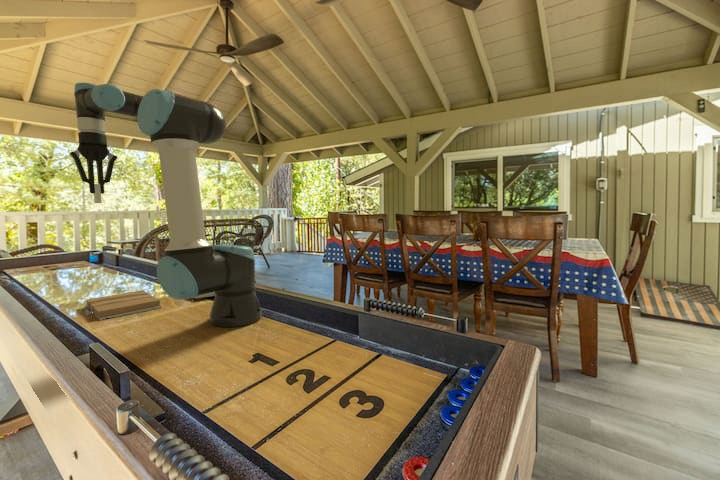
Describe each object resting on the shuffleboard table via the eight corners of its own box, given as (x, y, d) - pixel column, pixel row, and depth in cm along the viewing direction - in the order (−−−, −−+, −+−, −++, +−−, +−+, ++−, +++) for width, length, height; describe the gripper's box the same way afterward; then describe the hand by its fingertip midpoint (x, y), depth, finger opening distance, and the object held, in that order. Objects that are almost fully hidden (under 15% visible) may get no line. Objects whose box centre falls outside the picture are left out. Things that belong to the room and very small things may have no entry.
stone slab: (194, 279, 151) (221, 289, 129) (195, 286, 151) (222, 298, 129) (169, 283, 144) (193, 295, 122) (169, 291, 144) (193, 303, 122)
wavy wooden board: (153, 301, 121) (152, 296, 121) (93, 312, 109) (93, 306, 109) (143, 295, 129) (143, 290, 128) (86, 304, 116) (86, 299, 116)
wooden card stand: (161, 308, 116) (160, 300, 116) (99, 320, 103) (99, 312, 103) (142, 296, 130) (141, 289, 130) (86, 306, 117) (85, 299, 117)
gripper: (112, 137, 122) (117, 203, 124) (65, 131, 112) (71, 203, 115) (118, 134, 117) (123, 203, 119) (69, 128, 107) (75, 203, 110)
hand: (98, 203), depth 117 cm, fingers closed
